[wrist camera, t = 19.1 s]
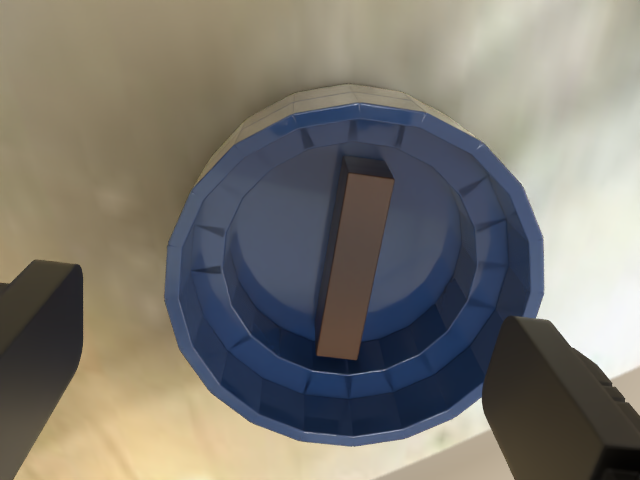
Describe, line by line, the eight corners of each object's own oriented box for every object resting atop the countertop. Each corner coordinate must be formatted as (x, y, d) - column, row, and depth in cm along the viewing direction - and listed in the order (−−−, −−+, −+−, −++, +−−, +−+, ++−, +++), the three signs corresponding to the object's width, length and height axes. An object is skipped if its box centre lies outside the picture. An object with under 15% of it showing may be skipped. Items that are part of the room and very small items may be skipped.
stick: (352, 328, 30) (357, 361, 27) (314, 323, 30) (315, 356, 27) (385, 160, 27) (395, 179, 24) (343, 154, 27) (347, 172, 24)
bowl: (182, 351, 31) (156, 427, 25) (204, 59, 25) (176, 74, 20) (456, 382, 32) (488, 461, 27) (535, 110, 27) (596, 137, 21)
